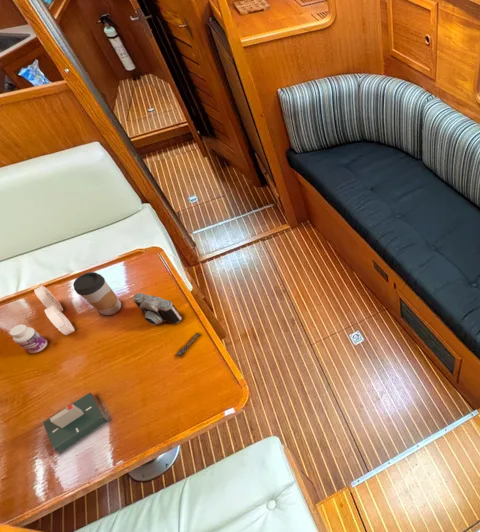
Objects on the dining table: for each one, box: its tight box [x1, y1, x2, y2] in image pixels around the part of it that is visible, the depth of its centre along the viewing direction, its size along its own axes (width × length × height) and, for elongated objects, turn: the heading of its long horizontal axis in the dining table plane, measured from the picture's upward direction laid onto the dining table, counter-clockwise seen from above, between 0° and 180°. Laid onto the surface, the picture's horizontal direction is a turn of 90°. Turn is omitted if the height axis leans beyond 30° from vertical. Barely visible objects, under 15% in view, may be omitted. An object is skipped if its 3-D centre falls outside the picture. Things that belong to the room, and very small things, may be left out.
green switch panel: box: [42, 392, 109, 453], centre depth 109 cm, size 12×10×3 cm
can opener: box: [176, 332, 200, 357], centre depth 126 cm, size 9×2×1 cm, turn 151°
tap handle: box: [49, 403, 84, 428], centre depth 106 cm, size 6×1×5 cm, turn 136°
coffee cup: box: [72, 271, 122, 316], centre depth 131 cm, size 8×8×15 cm
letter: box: [33, 285, 75, 336], centre depth 130 cm, size 22×2×10 cm, turn 46°
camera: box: [132, 292, 183, 326], centre depth 130 cm, size 15×7×10 cm, turn 72°
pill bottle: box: [9, 323, 48, 354], centre depth 123 cm, size 5×5×10 cm
